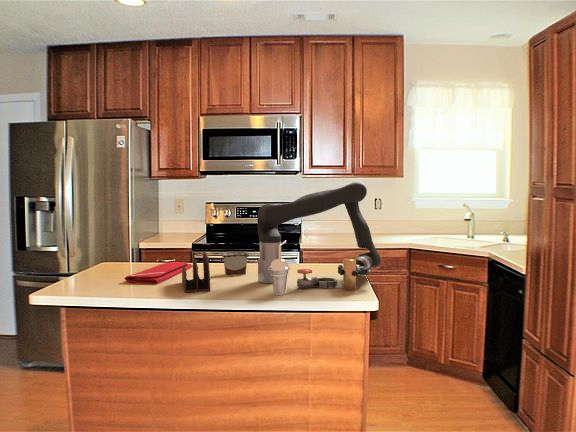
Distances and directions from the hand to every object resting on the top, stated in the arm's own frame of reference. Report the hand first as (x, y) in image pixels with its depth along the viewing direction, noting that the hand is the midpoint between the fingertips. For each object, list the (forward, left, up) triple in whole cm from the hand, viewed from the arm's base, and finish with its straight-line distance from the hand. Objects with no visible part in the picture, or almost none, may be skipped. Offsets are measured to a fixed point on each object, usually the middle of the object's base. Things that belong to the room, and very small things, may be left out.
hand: (347, 273), depth 197 cm
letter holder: (-52, +34, -7) cm, 62 cm away
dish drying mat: (-59, +66, -8) cm, 89 cm away
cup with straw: (-26, +8, -7) cm, 28 cm away
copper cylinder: (+2, +2, -7) cm, 7 cm away
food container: (-28, +53, -7) cm, 60 cm away
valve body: (-7, +12, -7) cm, 15 cm away
